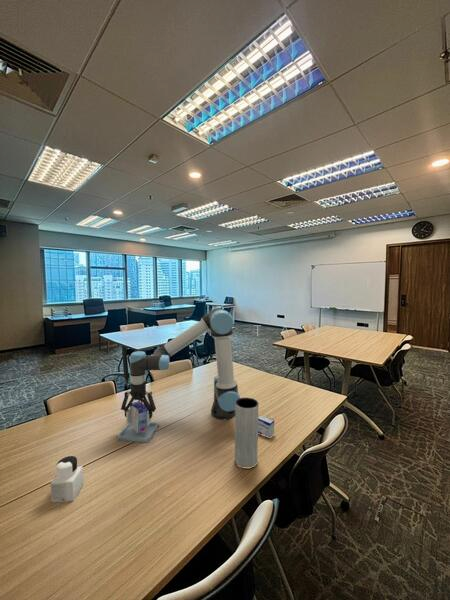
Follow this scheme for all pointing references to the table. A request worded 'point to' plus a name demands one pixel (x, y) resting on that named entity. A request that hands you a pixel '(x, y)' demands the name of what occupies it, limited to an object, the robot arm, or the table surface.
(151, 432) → the tray
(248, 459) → the vase
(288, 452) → the table surface
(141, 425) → the ink cartridge box
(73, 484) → the container
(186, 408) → the table surface
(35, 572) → the table surface
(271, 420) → the box
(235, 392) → the robot arm
